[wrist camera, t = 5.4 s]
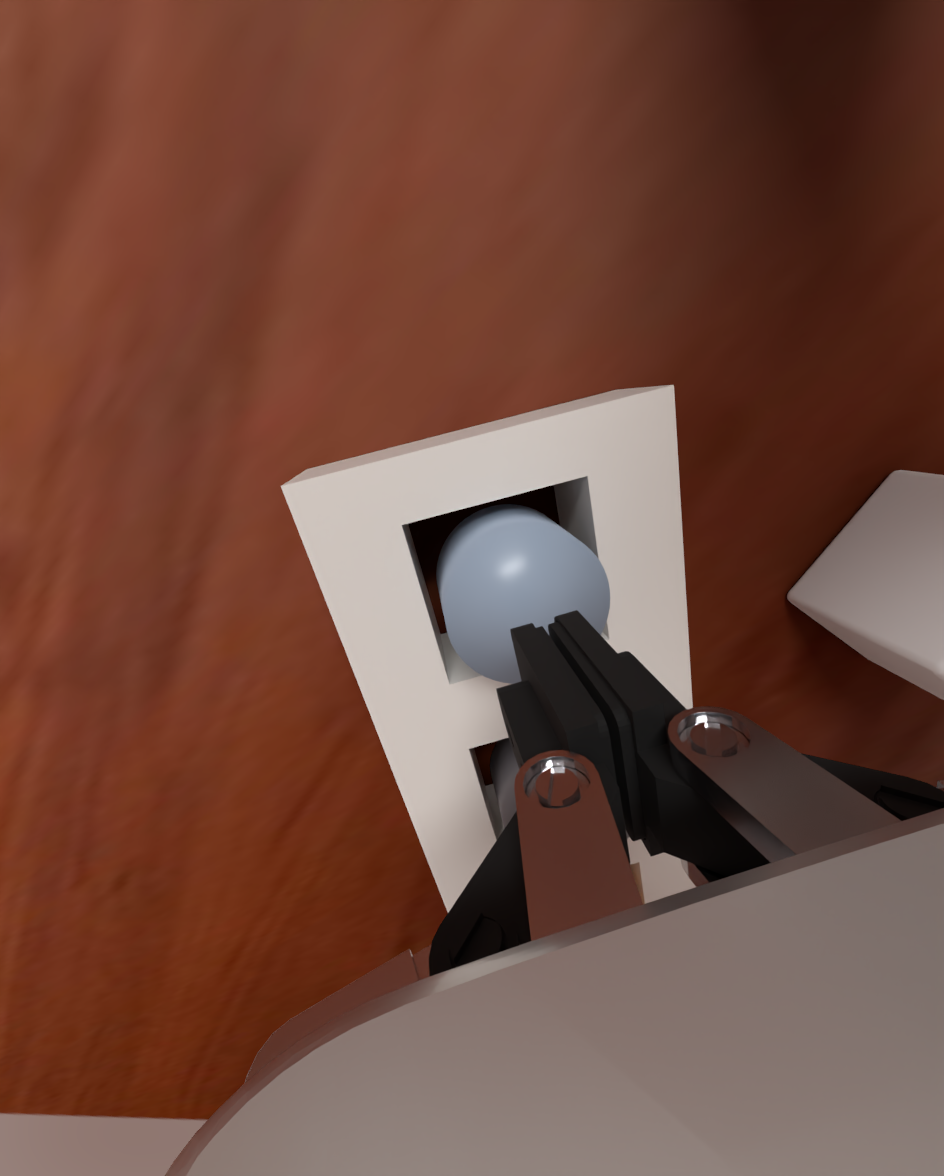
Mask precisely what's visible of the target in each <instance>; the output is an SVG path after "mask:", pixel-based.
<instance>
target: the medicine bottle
mask: <svg viewBox="0 0 944 1176" xmlns="http://www.w3.org/2000/svg"><path fill="white" fill-rule="evenodd" d="M787 599H788V600H789V601H790V602H791V603H792V604H793V605H795V606H796V607H797V608H799V609H800V610H801V611H803V612H804V613H805V614H807V615H808V616H809V617H811V618H812V619H814V620H815V621H816V622H818V623H819V624H820V625H822V626H823V627H824V628H826V629H827V630H829V631H830V632H831V633H833V634H834V635H835V636H837V637H838V638H839V639H841V640H842V641H844V642H845V643H846V644H848V645H849V646H850V647H852V648H853V649H854V650H856V651H857V652H859V653H860V654H861V655H863V656H864V657H865V658H867V659H868V660H870V661H872V662H874V663H876V664H877V665H879V666H881V667H883V668H885V669H887V670H889V671H890V672H892V673H894V674H896V675H898V676H900V677H902V678H903V679H905V680H907V681H909V682H911V683H913V684H915V685H916V686H918V687H920V688H922V689H924V690H926V691H928V692H929V693H931V694H933V695H935V696H937V697H939V698H941V699H942V700H944V475H938V474H930V473H922V472H914V471H906V470H898V471H893V472H892V473H891V474H890V475H889V476H888V477H887V478H886V479H885V481H884V482H883V483H882V484H881V485H880V486H879V488H878V489H877V490H876V491H875V492H874V493H873V495H872V496H871V497H870V498H869V499H868V500H867V501H866V503H865V504H864V505H863V506H862V507H861V508H860V510H859V511H858V512H857V513H856V514H855V515H854V517H853V518H852V519H851V520H850V521H849V522H848V524H847V525H846V526H845V527H844V528H843V529H842V531H841V532H840V533H839V534H838V535H837V536H836V537H835V539H834V540H833V541H832V542H831V543H830V544H829V546H828V547H827V548H826V549H825V550H824V551H823V553H822V554H821V555H820V556H819V557H818V558H817V560H816V561H815V562H814V563H813V564H812V565H811V567H810V568H809V569H808V570H807V571H806V572H805V574H804V575H803V576H802V577H801V578H800V579H799V580H798V582H797V583H796V584H795V585H794V586H793V587H792V589H791V590H790V591H789V592H788V594H787Z"/></svg>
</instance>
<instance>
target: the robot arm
mask: <svg viewBox="0 0 944 1176" xmlns="http://www.w3.org/2000/svg"><path fill="white" fill-rule="evenodd" d="M548 631H549V635H548V633H547V632H546V630H545V629H544V628H543V626H541V627H537V628H536V627H535V626H534V624H533V623H530V624H526V625H523V626H519V627H516V628H512V629H510V632H511V638H512V642H513V646H514V651H515V655H516V659H517V664H518V668H519V672H520V677H521V682H517V683H514V684H510V685H507V686H504V687H500V688H497V689H496V691H497V696H498V700H499V704H500V708H501V711H502V715H503V719H504V723H505V726H506V730H507V733H508V737H509V740H510V743H511V746H512V749H513V752H514V755H515V758H516V761H517V764H518V767H519V771H518V773H517V775H516V777H515V785H514V791H515V800H516V809H517V811H516V812H515V814H514V815H513V817H512V818H511V820H510V821H509V823H508V824H507V826H506V827H505V829H504V830H503V832H502V833H501V835H500V836H499V838H498V839H497V841H496V842H495V844H494V845H493V847H492V848H491V850H490V851H489V853H488V854H487V856H486V857H485V859H484V860H483V862H482V863H481V865H480V866H479V868H478V869H477V871H476V872H475V874H474V875H473V877H472V878H471V880H470V881H469V883H468V884H467V886H466V887H465V889H464V890H463V892H462V893H461V895H460V896H459V898H458V899H457V901H456V902H455V904H454V905H453V907H452V908H451V910H450V911H449V912H448V914H447V915H446V917H445V918H444V920H443V921H442V923H441V924H440V926H439V928H438V930H437V932H436V934H435V936H434V938H433V940H432V944H431V945H430V946H428V947H426V948H425V949H423V950H421V951H420V952H418V953H416V954H415V955H412V953H411V951H410V949H408V950H406V951H405V952H403V953H401V954H400V955H398V956H396V957H395V958H393V959H391V960H390V961H388V962H386V963H385V964H383V965H381V966H379V967H378V968H376V969H374V970H373V971H371V972H369V973H368V974H366V975H364V976H363V977H361V978H359V979H358V980H356V981H354V982H353V983H351V984H349V985H347V986H346V987H344V988H342V989H341V990H339V991H337V992H336V993H334V994H332V995H331V996H329V997H327V998H326V999H324V1000H322V1001H320V1002H319V1003H317V1004H315V1005H314V1006H312V1007H310V1008H309V1009H307V1010H305V1011H304V1012H302V1013H300V1014H299V1015H297V1016H295V1017H294V1018H292V1019H290V1020H289V1021H288V1022H286V1023H285V1024H284V1025H283V1026H281V1027H280V1028H279V1029H278V1030H276V1031H275V1032H274V1033H273V1034H272V1035H271V1036H270V1038H269V1039H268V1040H267V1042H266V1043H265V1044H264V1046H263V1047H262V1048H261V1050H260V1051H259V1052H258V1054H257V1055H256V1058H255V1060H254V1062H253V1064H252V1066H251V1069H250V1071H249V1073H248V1075H247V1077H246V1081H245V1084H244V1085H243V1086H242V1087H241V1088H239V1089H238V1090H237V1091H236V1092H235V1093H234V1094H233V1095H232V1096H231V1097H230V1098H229V1099H228V1100H227V1101H226V1102H225V1103H224V1104H223V1105H222V1106H221V1107H220V1108H219V1109H218V1110H217V1111H216V1112H215V1113H214V1114H213V1115H212V1116H211V1117H210V1118H209V1119H208V1120H207V1122H206V1123H205V1124H204V1125H203V1126H202V1127H201V1128H200V1129H199V1130H198V1131H197V1132H196V1133H195V1135H194V1136H193V1137H192V1139H191V1140H190V1141H189V1142H188V1144H187V1145H186V1146H185V1148H184V1149H183V1150H182V1151H181V1153H180V1154H179V1155H178V1157H177V1158H176V1160H175V1161H174V1162H173V1164H172V1165H171V1167H170V1168H169V1170H168V1171H167V1173H166V1175H165V1176H944V780H938V783H937V788H936V787H934V786H932V785H930V784H928V783H925V782H922V781H918V780H915V779H912V778H908V777H905V776H900V775H896V774H891V773H887V772H882V771H878V770H873V769H869V768H864V767H860V766H855V765H851V764H846V763H842V762H837V761H833V760H828V759H824V758H819V757H815V756H810V755H806V754H801V753H799V752H798V751H796V750H795V749H793V748H792V747H790V746H789V745H787V744H786V743H784V742H783V741H781V740H780V739H778V738H777V737H775V736H774V735H772V734H771V733H769V732H768V731H766V730H765V729H763V728H762V727H760V726H759V725H757V724H756V723H754V722H753V721H751V720H750V719H748V718H747V717H745V716H743V715H741V714H739V713H737V712H735V711H732V710H728V709H725V708H720V707H710V706H705V707H694V708H691V709H686V708H685V707H684V706H683V705H682V704H681V703H680V702H679V701H678V700H677V699H676V698H675V697H674V696H673V695H672V694H671V693H670V692H669V691H668V690H667V689H666V688H665V687H664V686H663V685H662V684H661V683H660V682H659V681H658V680H657V679H656V678H655V677H654V676H653V675H652V674H651V673H650V672H649V670H648V669H647V668H646V667H645V666H644V665H643V664H642V663H641V662H640V661H639V660H638V659H637V658H636V657H635V656H634V655H633V654H631V653H630V652H629V651H624V652H621V653H617V652H616V651H615V650H614V649H613V648H612V647H611V646H610V645H609V644H608V643H607V642H606V640H605V639H604V638H603V637H602V636H601V635H600V634H599V633H598V632H597V631H596V630H595V629H594V628H593V626H592V625H591V624H590V623H589V622H588V621H587V620H586V619H585V618H584V617H583V616H582V615H581V613H580V612H579V611H577V610H575V611H572V612H568V613H565V614H561V615H558V616H555V617H554V623H551V624H548ZM626 831H627V833H628V835H629V837H630V838H631V840H632V841H637V840H640V839H641V840H642V842H643V844H644V846H645V847H646V849H647V851H648V852H649V854H650V856H655V855H658V854H661V853H667V854H669V855H672V856H675V857H677V858H680V860H681V864H682V868H683V869H684V871H685V872H686V874H687V876H688V877H689V879H690V880H691V881H692V882H693V883H694V885H695V886H696V887H695V888H692V889H689V890H686V891H683V892H680V893H677V894H673V895H670V896H667V897H664V898H661V899H658V900H655V901H652V902H649V903H646V904H643V903H642V900H641V897H640V894H639V891H638V888H637V885H636V882H635V879H634V876H633V873H632V870H631V867H630V863H631V862H630V856H629V849H628V843H627V836H626Z"/></svg>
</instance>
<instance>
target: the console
mask: <svg viewBox="0 0 944 1176" xmlns="http://www.w3.org/2000/svg"><path fill="white" fill-rule="evenodd" d="M551 485H554V491H555V498H556V504H557V510H558V516H559V522H560V526H561V527H562V528H563V529H565V530H566V531H567V532H569V533H570V534H571V535H573V536H574V537H575V538H577V539H578V540H579V541H581V542H582V543H584V544H585V545H586V546H587V547H588V548H589V549H590V550H591V551H592V552H593V553H594V554H595V555H596V557H597V558H598V559H599V561H600V562H601V564H602V566H603V568H604V570H605V573H606V575H607V578H608V582H609V587H610V609H609V613H608V618H607V621H606V624H605V627H604V629H603V631H602V633H601V636H602V637H603V638H604V639H605V640H606V642H607V643H608V644H609V645H610V646H611V647H612V648H613V649H614V650H615V651H616V652H617V653H621V652H624V651H629V652H630V653H631V654H633V655H634V656H635V657H636V658H637V659H638V660H639V661H640V662H641V663H642V664H643V665H644V666H645V667H646V668H647V669H648V670H649V672H650V673H651V674H652V675H653V676H654V677H655V678H656V679H657V680H658V681H659V682H660V683H661V684H662V685H663V686H664V687H665V688H666V689H667V690H668V691H669V692H670V693H671V694H672V695H673V696H674V697H675V698H676V699H677V700H678V701H679V702H680V703H681V704H682V705H683V706H684V707H685V708H686V709H691V708H693V705H692V687H691V670H690V653H689V636H688V619H687V602H686V584H685V567H684V550H683V533H682V516H681V499H680V482H679V464H678V447H677V430H676V413H675V396H674V385H665V386H654V387H642V388H630V389H618V390H613V391H609V392H606V393H602V394H598V395H594V396H590V397H586V398H582V399H578V400H574V401H571V402H567V403H563V404H559V405H555V406H551V407H547V408H543V409H539V410H536V411H532V412H528V413H524V414H520V415H516V416H512V417H508V418H504V419H501V420H497V421H493V422H489V423H485V424H481V425H477V426H473V427H469V428H466V429H462V430H458V431H454V432H450V433H446V434H442V435H438V436H434V437H431V438H427V439H423V440H419V441H415V442H411V443H407V444H403V445H399V446H396V447H392V448H388V449H384V450H380V451H376V452H372V453H368V454H364V455H361V456H357V457H353V458H349V459H345V460H341V461H337V462H333V463H329V464H326V465H322V466H318V467H314V468H310V469H306V470H305V471H303V472H302V473H300V474H299V475H297V476H296V477H294V478H293V479H291V480H290V481H288V482H287V483H285V484H284V485H282V486H281V488H282V491H283V493H284V496H285V498H286V501H287V503H288V506H289V508H290V511H291V513H292V516H293V519H294V521H295V524H296V526H297V529H298V531H299V534H300V536H301V539H302V542H303V544H304V547H305V549H306V552H307V554H308V557H309V559H310V562H311V565H312V567H313V570H314V572H315V575H316V577H317V580H318V582H319V585H320V588H321V590H322V593H323V595H324V598H325V600H326V603H327V605H328V608H329V611H330V613H331V616H332V618H333V621H334V623H335V626H336V628H337V631H338V634H339V636H340V639H341V641H342V644H343V646H344V649H345V651H346V654H347V657H348V659H349V662H350V664H351V667H352V669H353V672H354V674H355V677H356V680H357V682H358V685H359V687H360V690H361V692H362V695H363V697H364V700H365V702H366V705H367V708H368V710H369V713H370V715H371V718H372V720H373V723H374V725H375V728H376V731H377V733H378V736H379V738H380V741H381V743H382V746H383V748H384V751H385V754H386V756H387V759H388V761H389V764H390V766H391V769H392V771H393V774H394V777H395V779H396V782H397V784H398V787H399V789H400V792H401V794H402V797H403V800H404V802H405V805H406V807H407V810H408V812H409V815H410V817H411V820H412V823H413V825H414V828H415V830H416V833H417V835H418V838H419V840H420V843H421V846H422V848H423V851H424V853H425V856H426V858H427V861H428V863H429V866H430V869H431V871H432V874H433V876H434V879H435V881H436V884H437V886H438V889H439V892H440V894H441V897H442V899H443V902H444V904H445V907H446V909H447V912H449V911H450V910H451V908H452V907H453V905H454V904H455V902H456V901H457V899H458V898H459V896H460V895H461V893H462V892H463V890H464V889H465V887H466V886H467V884H468V883H469V881H470V880H471V878H472V877H473V875H474V874H475V872H476V871H477V869H478V868H479V866H480V865H481V863H482V862H483V860H484V859H485V857H486V856H487V854H488V853H489V851H490V850H491V848H492V847H493V845H494V844H495V842H496V841H497V839H498V838H499V836H500V835H501V833H502V832H503V830H504V825H503V821H502V817H501V813H500V809H499V805H498V801H497V797H496V793H495V789H494V785H493V784H490V785H487V786H485V783H484V780H483V777H482V773H481V770H480V766H479V763H478V760H477V756H476V753H475V749H474V747H478V746H481V745H485V744H488V743H491V742H495V741H498V740H502V739H505V738H509V737H508V733H507V730H506V726H505V723H504V719H503V715H502V711H501V708H500V704H499V700H498V696H497V691H496V689H497V688H500V687H504V686H507V685H510V683H503V682H499V681H495V680H492V679H489V678H487V677H484V676H483V675H481V674H479V673H477V672H476V671H474V670H473V669H472V668H470V667H469V666H468V665H467V664H466V663H465V662H464V661H463V660H462V659H461V658H460V657H459V655H458V654H457V653H456V651H455V649H454V648H453V646H452V644H451V642H450V639H449V636H448V633H444V634H440V631H439V627H438V624H437V620H436V617H435V614H434V610H433V607H432V603H431V600H430V597H429V593H428V590H427V586H426V583H425V580H424V576H423V573H422V569H421V566H420V563H419V559H418V556H417V552H416V549H415V546H414V542H413V539H412V535H411V532H410V529H409V525H408V523H412V522H416V521H419V520H423V519H427V518H431V517H435V516H438V515H442V514H446V513H450V512H453V511H457V510H461V509H465V508H468V507H472V506H476V505H480V504H484V503H487V502H491V501H495V500H499V499H502V498H506V497H510V496H514V495H517V494H521V493H525V492H529V491H533V490H536V489H540V488H544V487H548V486H551ZM627 843H628V849H629V856H630V862H631V863H630V867H631V870H632V873H633V876H634V879H635V882H636V885H637V888H638V891H639V894H640V897H641V900H642V903H643V904H646V903H649V902H652V901H655V900H658V899H661V898H664V897H667V896H670V895H673V894H677V893H680V892H683V891H686V890H689V889H692V888H695V887H696V886H695V885H694V883H693V882H692V881H691V880H690V879H689V877H688V876H687V874H686V872H685V871H684V869H683V868H682V864H681V860H680V858H677V857H675V856H672V855H669V854H667V853H661V854H658V855H655V856H650V854H649V852H648V851H647V849H646V847H645V846H644V844H643V842H642V840H641V839H640V840H637V841H632V840H631V838H630V837H629V838H628V839H627Z"/></svg>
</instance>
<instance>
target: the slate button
mask: <svg viewBox="0 0 944 1176" xmlns="http://www.w3.org/2000/svg"><path fill="white" fill-rule="evenodd" d="M436 578H437V586H438V590H439V595H440V600H441V605H442V610H443V614H444V619H445V624H446V629H447V633H448V636H449V639H450V642H451V644H452V646H453V648H454V649H455V651H456V653H457V654H458V655H459V657H460V658H461V659H462V660H463V661H464V662H465V663H466V664H467V665H468V666H469V667H470V668H472V669H473V670H474V671H476V672H477V673H479V674H481V675H483V676H484V677H487V678H489V679H492V680H495V681H499V682H503V683H510V684H514V683H517V682H521V677H520V672H519V668H518V664H517V659H516V655H515V651H514V646H513V642H512V638H511V632H510V629H512V628H516V627H519V626H523V625H526V624H530V623H533V624H534V626H535V627H536V628H537V627H541V626H543V628H544V629H545V630H546V632H547V633H548V635H549V631H548V624H551V623H554V617H555V616H558V615H561V614H565V613H568V612H572V611H575V610H577V611H579V612H580V613H581V615H582V616H583V617H584V618H585V619H586V620H587V621H588V622H589V623H590V624H591V625H592V626H593V628H594V629H595V630H596V631H597V632H598V633H599V634H600V635H601V633H602V631H603V629H604V627H605V624H606V621H607V618H608V613H609V609H610V587H609V582H608V578H607V575H606V573H605V570H604V568H603V566H602V564H601V562H600V561H599V559H598V558H597V557H596V555H595V554H594V553H593V552H592V551H591V550H590V549H589V548H588V547H587V546H586V545H585V544H584V543H582V542H581V541H579V540H578V539H577V538H575V537H574V536H573V535H571V534H570V533H569V532H567V531H566V530H565V529H563V528H562V527H561V526H559V525H558V524H556V523H555V522H554V521H552V520H551V519H550V518H548V517H547V516H546V515H544V514H543V513H541V512H539V511H537V510H535V509H532V508H530V507H527V506H522V505H516V504H501V505H495V506H490V507H487V508H484V509H481V510H479V511H477V512H475V513H473V514H471V515H470V516H468V517H467V518H465V519H464V520H463V521H462V522H460V523H459V524H458V525H457V526H456V527H455V528H454V529H453V531H452V532H451V533H450V534H449V536H448V537H447V539H446V540H445V542H444V544H443V546H442V548H441V551H440V554H439V557H438V562H437V570H436Z"/></svg>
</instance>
